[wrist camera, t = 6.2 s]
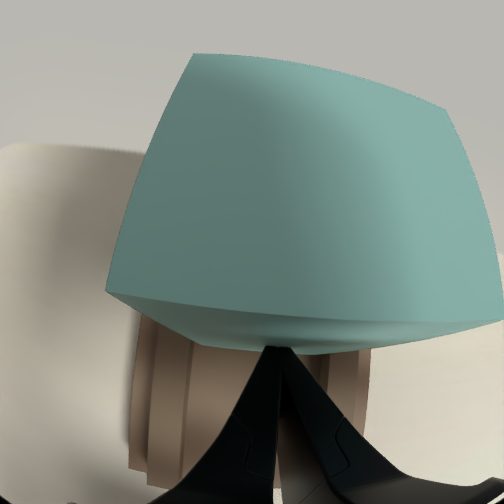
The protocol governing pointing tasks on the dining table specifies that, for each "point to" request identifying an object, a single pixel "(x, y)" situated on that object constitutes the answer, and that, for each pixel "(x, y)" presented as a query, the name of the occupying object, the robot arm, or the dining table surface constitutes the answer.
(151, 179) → the block
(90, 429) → the dining table surface
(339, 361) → the chute
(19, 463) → the dining table surface
